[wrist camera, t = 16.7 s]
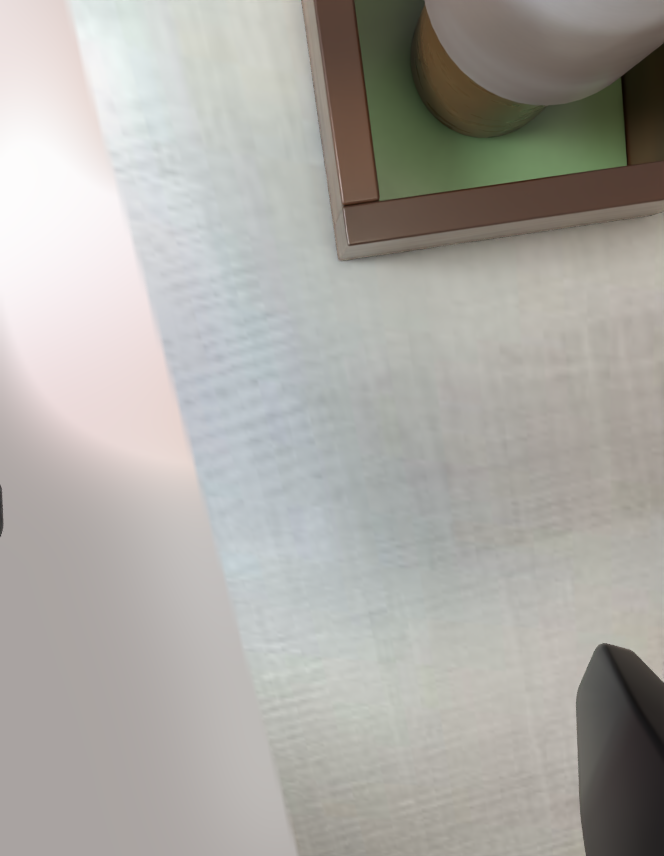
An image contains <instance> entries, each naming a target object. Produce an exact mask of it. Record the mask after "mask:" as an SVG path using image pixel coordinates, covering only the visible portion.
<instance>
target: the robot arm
mask: <svg viewBox="0 0 664 856" xmlns="http://www.w3.org/2000/svg"><path fill="white" fill-rule="evenodd" d="M2 507H3V505H2V488H1V486H0V536H1V534H2V530H3V508H2ZM576 717H577V745H578V774H579V799H580V815H581V823H582V832H583V839H584V846H585V852H586V856H664V683H663V682H662V681H661V680H660V679H659V678H658V676H657V675H656V674H655V673H654V672H653V671H652V670H651V669H650V668H649V667H648V666H647V665H646V664H645V663H644V662H643V661H642V660H641V659H640V658H639V657H638V656H637V655H636V654H635V653H634V652H633V651H631V650H629V649H626V648H622V647H618V646H614V645H610V644H607V643H602V644H600V645H598V647H597V648H596V649H595V651H594V653H593V655H592V658H591V660H590V662H589V665H588V667H587V669H586V672H585V674H584V676H583V678H582V681H581V683H580V685H579V688H578V692H577V698H576Z"/></svg>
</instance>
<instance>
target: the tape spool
mask: <svg viewBox="0 0 664 856" xmlns="http://www.w3.org/2000/svg"><path fill="white" fill-rule="evenodd" d="M424 1H425V4H424V7H423V9H422V12H421V14H420V17H419V19H418V22H417V25H416V27H415V30H414V34H413V38H412V44H411V60H410V61H411V70H412V75H413V80H414V83H415V86H416V89H417V92H418V94H419V96H420V97H421V99H422V101H423V103H424V104H425V106H426V107H427V109H428V110H429V111H430V112H431V113H432V115H433V116H434V117H435V118H436V119H438V120H439V121H440V122H441V123H442V124H444V125H445V126H447V127H448V128H450V129H451V130H454V131H456V132H458V133H460V134H463V135H467V136H471V137H477V138H492V137H499V136H503V135H506V134H509V133H512V132H514V131H516V130H518V129H520V128H521V127H523V126H525V125H526V124H527V123H529V122H530V121H531V120H533V119H534V118H535V117H536V116H537V115H538V114H539V113H540V112H542V111H543V110H544V109H545V108H546V107H547V106H548V105H558V104H566V103H570V102H573V101H577V100H581V99H583V98H586V97H588V96H591V95H593V94H595V93H597V92H599V91H601V90H602V89H604V88H606V87H608V86H609V85H611V84H612V83H613V82H615V81H616V80H617V79H619V78H620V77H621V76H622V75H624V74H625V73H626V72H628V71H629V70H630V69H631V68H633V67H634V66H635V65H636V64H638V63H639V62H640V61H642V60H643V59H644V58H645V57H647V56H648V55H649V54H651V53H652V52H653V51H654V50H656V49H657V48H658V47H660V46H661V45H662V44H663V43H664V0H424Z"/></svg>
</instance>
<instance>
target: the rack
mask: <svg viewBox="0 0 664 856" xmlns="http://www.w3.org/2000/svg"><path fill="white" fill-rule="evenodd" d="M301 1H302V8H303V15H304V22H305V29H306V37H307V44H308V51H309V58H310V65H311V72H312V79H313V86H314V93H315V100H316V107H317V114H318V121H319V128H320V135H321V142H322V149H323V156H324V163H325V170H326V177H327V184H328V191H329V198H330V205H331V213H332V220H333V227H334V234H335V241H336V248H337V255H338V260H339V261H343V260H350V259H357V258H364V257H371V256H378V255H384V254H391V253H398V252H405V251H412V250H419V249H425V248H432V247H439V246H446V245H453V244H460V243H466V242H473V241H480V240H487V239H494V238H501V237H507V236H514V235H521V234H528V233H535V232H542V231H549V230H555V229H562V228H569V227H576V226H583V225H590V224H596V223H603V222H610V221H617V220H624V219H631V218H637V217H644V216H651V215H654V214H657V213H660V212H663V211H664V43H663V44H662V45H661V46H660V47H658V48H657V49H656V50H654V51H653V52H652V53H651V54H649V55H648V56H647V57H645V58H644V59H643V60H642V61H640V62H639V63H638V64H636V65H635V66H634V67H633V68H631V69H630V70H629V71H628V72H626V73H625V74H624V75H622V76H621V77H620V78H619V79H617V80H616V81H615V82H613V83H612V84H611V85H609V86H608V87H606V88H604V89H602V90H601V91H599V92H597V93H595V94H593V95H591V96H588V97H586V98H583V99H581V100H577V101H573V102H570V103H566V104H558V105H548V106H547V107H546V108H545V109H544V110H543V111H542V112H540V113H539V114H538V115H537V116H536V117H535V118H534V119H533V120H531V121H530V122H529V123H527V124H526V125H525V126H523V127H521V128H520V129H518V130H516V131H514V132H512V133H509V134H506V135H503V136H499V137H492V138H477V137H471V136H467V135H463V134H460V133H458V132H456V131H454V130H451V129H450V128H448V127H447V126H445V125H444V124H442V123H441V122H440V121H439V120H438V119H436V118H435V117H434V116H433V115H432V113H431V112H430V111H429V110H428V109H427V107H426V106H425V104H424V103H423V101H422V99H421V97H420V96H419V94H418V92H417V89H416V86H415V83H414V80H413V75H412V70H411V61H410V60H411V44H412V38H413V34H414V30H415V27H416V25H417V22H418V19H419V17H420V14H421V12H422V9H423V7H424V4H425V1H424V0H301Z"/></svg>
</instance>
